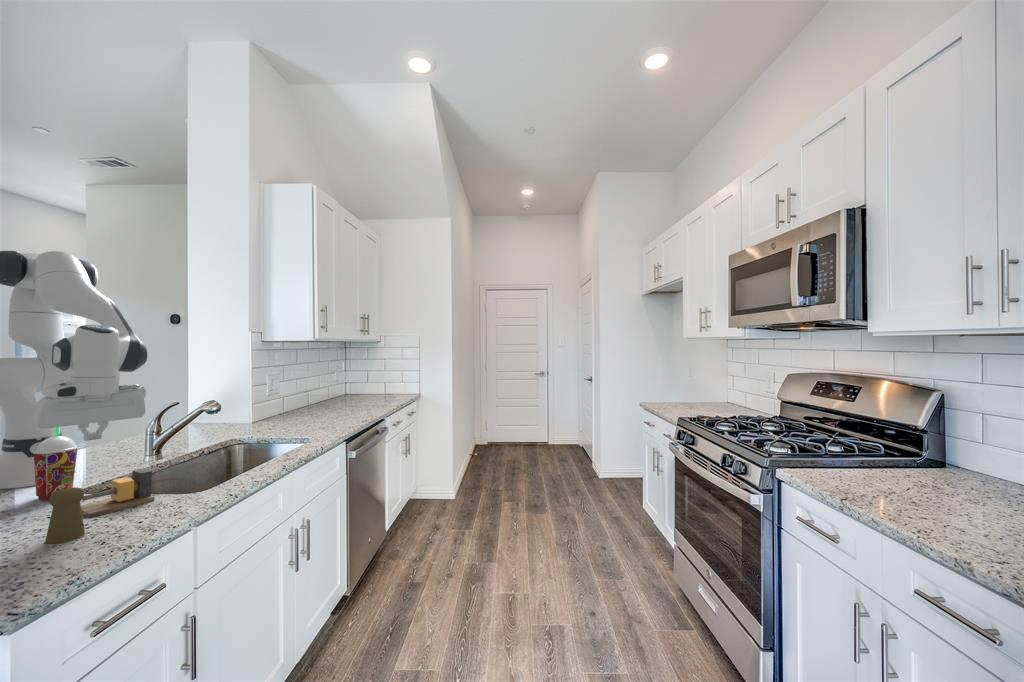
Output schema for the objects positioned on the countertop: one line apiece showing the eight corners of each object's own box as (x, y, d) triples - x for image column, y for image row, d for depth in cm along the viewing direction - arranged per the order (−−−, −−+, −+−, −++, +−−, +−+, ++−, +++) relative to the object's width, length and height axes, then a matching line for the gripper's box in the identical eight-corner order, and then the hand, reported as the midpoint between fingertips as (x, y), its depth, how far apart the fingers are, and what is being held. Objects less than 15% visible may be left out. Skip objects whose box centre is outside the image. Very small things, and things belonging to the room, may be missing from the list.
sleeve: (110, 498, 108) (111, 480, 108) (125, 494, 110) (126, 477, 110) (118, 501, 105) (119, 483, 106) (133, 498, 108) (134, 480, 108)
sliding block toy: (75, 510, 103) (76, 479, 103) (139, 494, 115) (140, 466, 115) (89, 517, 99) (90, 486, 99) (154, 500, 111) (155, 472, 111)
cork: (57, 546, 85) (59, 495, 86) (37, 542, 87) (39, 492, 87) (92, 533, 91) (94, 486, 91) (72, 530, 92) (74, 483, 93)
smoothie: (70, 498, 110) (73, 427, 111) (25, 505, 106) (28, 430, 106) (80, 489, 117) (83, 422, 118) (38, 495, 113) (41, 425, 113)
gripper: (141, 383, 114) (138, 430, 114) (32, 389, 95) (29, 445, 95) (151, 385, 111) (148, 434, 111) (41, 391, 92) (37, 450, 92)
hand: (92, 439), depth 103 cm, fingers closed
